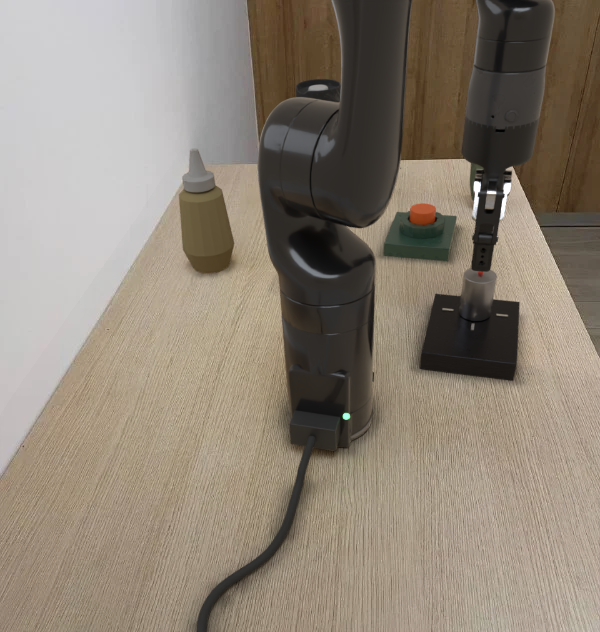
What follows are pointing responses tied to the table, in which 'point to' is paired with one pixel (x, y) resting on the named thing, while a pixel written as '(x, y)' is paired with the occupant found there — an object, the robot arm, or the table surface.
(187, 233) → the squeeze bottle
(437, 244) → the button housing
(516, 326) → the panel
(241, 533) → the table surface
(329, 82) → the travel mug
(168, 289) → the table surface
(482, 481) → the table surface
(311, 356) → the robot arm
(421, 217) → the button
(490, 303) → the cooker knob
